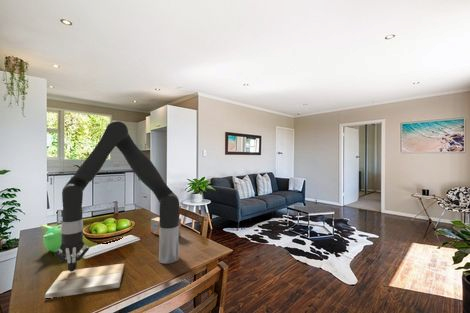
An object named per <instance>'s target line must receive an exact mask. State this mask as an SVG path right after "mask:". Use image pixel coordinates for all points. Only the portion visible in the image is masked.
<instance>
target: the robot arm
mask: <svg viewBox="0 0 470 313" xmlns="http://www.w3.org/2000/svg"><path fill="white" fill-rule="evenodd" d="M115 148H117V149H118V150H119V151H120V153H121V154H122V155H123V157H124V159H125V161H126V162H127V164H128V165H129V167H130V168H131V169H132V171H133V173H134V174H135V175H136V177H137V178H138V180H140V181H141V182H142V183H143V184H144V185H145V186H146V187H147V188H149V190H150V191H152V193H153V194H154V195H155V198H156V199H157V200H158V203H159V218H160V220H159V221H160V228H159V235H158V237H159V238H158V239H159V240H158V241H159V242H158V262H159V263H161V264H165V265H168V264H173V263H175V262H179V255H180V254H179V251H180V250H179V247H180V243H179V237H178V227H179V218H180V200H179V198H178V196H177V195H176V194H175V192H173V190H172V189H170V187H169V186H168V185H167V183H166V182H165V181H164V180H163V177H162V176H161V174H160V172H159V171H158V169H157V167H156V166H155V165H154V164H153V162H152V160H150V158H149V157H148V156H147V155H146V154H145V153H144V151H142V150H141V149H140V148H139V147H138V146H137V145H136V143H135V142H134V140H133V138H132V137H131V136H130V134H129V129H128V127H127V125H126V124H125V123H124V122H122V121H119V120H114V121H111V122H109V123H108V125H106V127H105V130H104V132H103V134H102V136H101V138H100V140H99V141H98V142H97V145H95V147H94V148H93V150H92V151H91V152H90V154H89V155H88V156H87V157H86V159H85V160H84V161H83V163H81V165H80V166H79V167H78V169H77V170H76V172H75V173H74V175H73V176H72V177H71V178H70V180H69V181H67V183H65V185H64V187H63V188H62V192H61V196H62V197H61V200H62V201H61V202H62V212H61V214H62V215H61V224H62V226H61V246H60V248H59V249H57V250H56V251H55V252H53V255H55V257H56V258H57V259H59V260H60V261H61V262H62V263H66V264H67V271H70V272H71V271H74V270H77V267H78V261H80V260H81V259H83V258H82V257H83V256H84V255H85V253H86V252H87V251H88V250H89V248H90V247H91V246H90V245H85V242H84V221H83V220H84V219H83V196H84V190H85V189H86V187H87V186H88V185H89V183H91V182H92V181H93V180H94V179H95V177H96V176H97V174H99V172H100V170H102V169H101V168H102V167H103V166H104V164H105V162H106V161H107V159H108V158H109V155H110V154H111V153H112V151H113V150H114V149H115ZM80 250H82V251H83V252H82V253H81V255H80V256H78V252H79V251H80ZM62 251H63V252H62Z"/></svg>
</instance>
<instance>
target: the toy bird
mask: <svg viewBox="0 0 470 313" xmlns="http://www.w3.org/2000/svg"><path fill="white" fill-rule="evenodd" d="M61 226H62V223H60V224H59V223H58V224H57V225H54V226H50V225H45V224H40V226H39V227H40V228H41V229H42V230H43V231H44V232H45V234H44V235H43V236H42V238H43V239H42V241H43V245H44V247H45V249H47V250H48V251H49V252H51V253H54V252H55V251H56V250H57V249H59V248H60V246H61ZM62 253H64V252H63V251H62Z"/></svg>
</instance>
